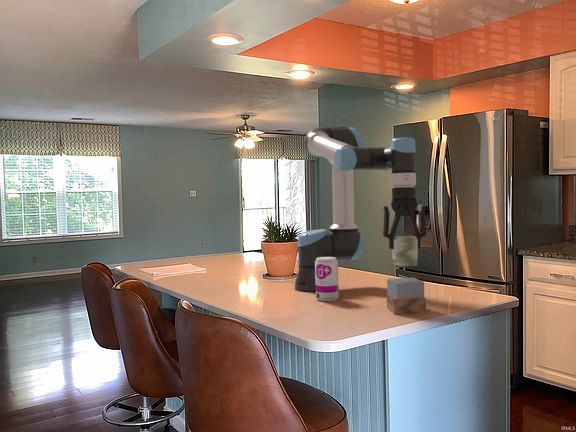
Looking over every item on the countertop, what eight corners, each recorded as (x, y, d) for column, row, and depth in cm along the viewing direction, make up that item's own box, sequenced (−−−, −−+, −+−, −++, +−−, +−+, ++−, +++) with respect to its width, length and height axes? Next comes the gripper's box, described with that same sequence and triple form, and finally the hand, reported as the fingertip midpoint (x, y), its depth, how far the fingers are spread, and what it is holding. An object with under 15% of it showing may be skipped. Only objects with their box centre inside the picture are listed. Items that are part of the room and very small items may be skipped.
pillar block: (398, 266, 164) (397, 237, 163) (393, 263, 170) (393, 236, 169) (417, 265, 164) (416, 237, 163) (411, 263, 170) (411, 235, 169)
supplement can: (332, 302, 182) (331, 259, 181) (311, 300, 186) (310, 258, 185) (342, 298, 189) (341, 257, 188) (322, 296, 193) (321, 256, 192)
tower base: (394, 315, 162) (393, 299, 162) (386, 308, 172) (386, 293, 172) (425, 314, 162) (425, 298, 162) (416, 307, 172) (416, 292, 172)
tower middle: (396, 299, 162) (396, 283, 162) (387, 293, 171) (387, 278, 170) (424, 297, 163) (424, 282, 163) (413, 292, 172) (413, 277, 172)
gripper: (376, 187, 161) (378, 261, 162) (437, 185, 162) (438, 259, 163) (371, 187, 169) (373, 258, 170) (429, 186, 170) (430, 256, 171)
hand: (405, 258), depth 167 cm, fingers closed on pillar block, 6 cm apart
